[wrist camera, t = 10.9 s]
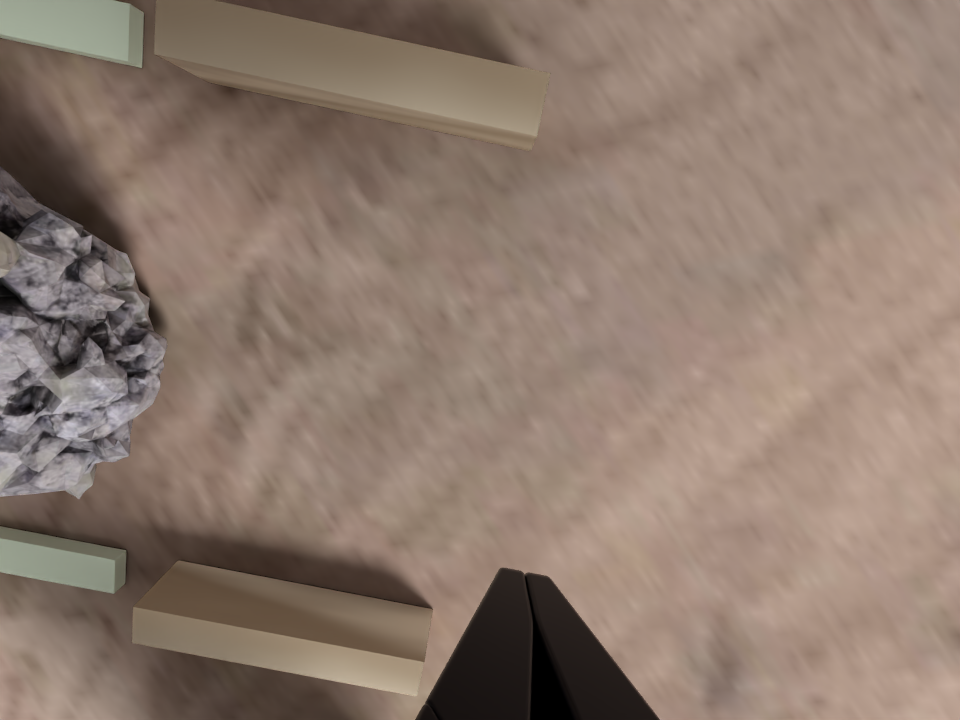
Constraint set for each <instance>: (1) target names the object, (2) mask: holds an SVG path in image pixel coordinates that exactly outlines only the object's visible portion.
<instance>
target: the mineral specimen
mask: <svg viewBox="0 0 960 720" xmlns="http://www.w3.org/2000/svg"><path fill="white" fill-rule="evenodd" d="M149 301H150V298H148V297H147V296H146V295H144V294H143V293H141V292H140V291H139V289H138V285H137V282H136V279H135V272H134V270H133V267H132V265H131V263H130V260H129V258H128V255H127V254H126V253H123V252H121V251H118V250H116V249H114V248H113V247H111V246H110V245H108V244H106V243H105V242H103V241H102V240H100V239H99V238H97V237H95V236H94V235H92V234H90V233H89V232H87V231H86V230H84V229H83V226H82V225H80V224H78V223H76V222H74V221H72V220H70V219H68V218H67V217H65V216H63V215H61V214H59V213H57V212H55V211H53V210H51V209H49V208H47V207H45V206H43V205H42V204H40V203H38V202H37V201H36V200H35V199H34V198H33V197H32V196H31V195H30V194H29V193H28V192H27V191H26V189H25V188H24V187H23V186H22V185H21V184H20V183H19V182H17V181H16V180H15V179H14V178H13V177H12V176H11V175H10V174H8V173H7V172H6V171H5V170H4V169H3V168H2V167H1V166H0V496H15V495H27V494H38V493H46V492H54V491H62V490H65V491H66V492H68V493H70V494H71V495H73V496H75V497H77V498H78V499H80V497H81V496H82V494H83V493H84V492H85V491H86V490H87V489H88V488H90V487H91V486H92V485H93V482H94V477H95V471H96V463H99V462H103V461H106V462H116V461H118V460H120V459H122V458H124V457H128V456H129V454H130V443H131V442H130V434H131V428H132V421H133V419H134V418H135V417H136V416H138V415H139V414H140V413H142V412H143V411H144V410H146V409H147V408H148V407H149V406H151V405H152V404H153V402H154V400H155V398H156V396H157V394H158V391H159V389H160V374H161V372H162V370H163V368H164V364H163V357H164V354H165V351H166V349H167V341H166V338H164V337H163V336H161V335H159V334H157V333H156V332H155V331H154V329H153V326H152V324H151V321H150V318H149V316H148V310H149Z"/></svg>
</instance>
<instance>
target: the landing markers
mask: <svg viewBox="0 0 960 720" xmlns="http://www.w3.org/2000/svg"><path fill="white" fill-rule="evenodd" d="M143 26H144V12H142V11H140V10H139V9H137V8H136V7H134V6H133V5H131V4H129V3H124V2H119V1H115V0H0V38H4V39H8V40H13V41H18V42H22V43H27V44H32V45H36V46H41V47H46V48H50V49H55V50H60V51H64V52H69V53H74V54H78V55H83V56H88V57H92V58H97V59H102V60H106V61H111V62H116V63H120V64H125V65H130V66H134V67H139V68H142V57H143ZM0 572H2V573H7V574H12V575H18V576H23V577H28V578H33V579H39V580H44V581H49V582H54V583H60V584H65V585H70V586H76V587H81V588H86V589H91V590H97V591H102V592H107V593H112V594H114V593H116V592H117V591H118V590H119V589H120V588H121V587H122V586H123V585H124V584H125V577H126V550H122V549H116V548H111V547H106V546H101V545H96V544H90V543H85V542H80V541H75V540H70V539H64V538H59V537H54V536H49V535H44V534H38V533H33V532H28V531H23V530H18V529H12V528H7V527H2V526H0Z"/></svg>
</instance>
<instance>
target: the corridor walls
mask: <svg viewBox="0 0 960 720" xmlns="http://www.w3.org/2000/svg"><path fill="white" fill-rule="evenodd" d="M154 54H155V55H157V56H159V57H161V58H163V59H165V60H166V61H168V62H170V63H172V64H174V65H176V66H178V67H180V68H182V69H184V70H186V71H187V72H189V73H191V74H193V75H195V76H197V77H199V78H201V79H203V80H205V81H206V82H209V83H214V84H218V85H223V86H228V87H232V88H237V89H242V90H246V91H251V92H256V93H260V94H265V95H270V96H274V97H279V98H284V99H288V100H293V101H298V102H303V103H307V104H312V105H317V106H321V107H326V108H331V109H335V110H340V111H345V112H349V113H354V114H359V115H363V116H368V117H373V118H377V119H382V120H387V121H391V122H396V123H401V124H405V125H410V126H415V127H419V128H424V129H429V130H433V131H438V132H443V133H447V134H452V135H457V136H461V137H466V138H471V139H475V140H480V141H485V142H489V143H494V144H499V145H503V146H508V147H513V148H517V149H522V150H527V151H531V149H532V147H533V144H534V142H535V140H536V138H537V134H538V130H539V125H540V120H541V116H542V111H543V106H544V102H545V97H546V92H547V88H548V83H549V78H550V74H551V73H547V72H542V71H538V70H533V69H529V68H524V67H519V66H515V65H510V64H506V63H501V62H496V61H492V60H487V59H483V58H478V57H474V56H469V55H464V54H460V53H455V52H451V51H446V50H441V49H437V48H432V47H428V46H423V45H418V44H414V43H409V42H405V41H400V40H396V39H391V38H386V37H382V36H377V35H373V34H368V33H363V32H359V31H354V30H350V29H345V28H340V27H336V26H331V25H327V24H322V23H317V22H313V21H308V20H304V19H299V18H295V17H290V16H285V15H281V14H276V13H272V12H267V11H262V10H258V9H253V8H249V7H244V6H239V5H235V4H230V3H226V2H221V1H216V0H156V11H155V37H154ZM432 612H433V609H429V608H423V607H418V606H413V605H408V604H403V603H397V602H392V601H387V600H382V599H377V598H371V597H366V596H361V595H356V594H351V593H345V592H340V591H335V590H330V589H325V588H319V587H314V586H309V585H304V584H299V583H293V582H288V581H283V580H278V579H273V578H267V577H262V576H257V575H252V574H247V573H241V572H236V571H231V570H226V569H221V568H215V567H210V566H205V565H200V564H195V563H189V562H184V561H179V560H178V561H177V562H176V563H175V564H174V565H173V566H172V567H171V568H170V569H169V570H168V571H167V572H166V573H165V574H164V575H163V576H162V577H161V579H160V580H159V581H158V582H157V583H156V584H155V585H154V586H153V587H152V588H151V589H150V590H149V591H148V592H147V593H146V594H145V595H144V596H143V597H142V598H141V599H140V600H139V601H138V602H137V603H136V604H135V605H134V606H133V622H132V643H134V644H139V645H145V646H150V647H155V648H161V649H166V650H171V651H177V652H182V653H187V654H193V655H198V656H203V657H209V658H214V659H219V660H225V661H230V662H235V663H240V664H246V665H251V666H256V667H262V668H267V669H272V670H278V671H283V672H288V673H294V674H299V675H304V676H310V677H315V678H320V679H326V680H331V681H336V682H342V683H347V684H352V685H357V686H363V687H368V688H373V689H379V690H384V691H389V692H395V693H400V694H405V695H411V696H416V697H417V694H418V689H419V684H420V680H421V675H422V670H423V666H424V661H425V654H426V648H427V642H428V636H429V630H430V624H431V618H432Z"/></svg>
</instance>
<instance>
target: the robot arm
mask: <svg viewBox="0 0 960 720" xmlns="http://www.w3.org/2000/svg"><path fill="white" fill-rule="evenodd" d="M415 720H660V719H659V718H658V717H657V715H656V714H655V713H654V711H653V710H652V709H651V708H650V706H649V705H648V704H647V702H646V701H645V700H644V699H643V697H642V696H641V695H640V693H639V692H638V691H637V690H636V688H635V687H634V686H633V684H632V683H631V682H630V680H629V679H628V678H627V677H626V675H625V674H624V673H623V671H622V670H621V669H620V668H619V666H618V665H617V664H616V662H615V661H614V660H613V659H612V657H611V656H610V655H609V653H608V652H607V651H606V649H605V648H604V647H603V646H602V644H601V643H600V642H599V640H598V639H597V638H596V637H595V635H594V634H593V633H592V631H591V630H590V629H589V628H588V626H587V625H586V624H585V622H584V621H583V620H582V618H581V617H580V616H579V615H578V613H577V612H576V611H575V609H574V608H573V607H572V606H571V604H570V603H569V602H568V600H567V599H566V598H565V597H564V595H563V594H562V593H561V591H560V590H559V589H558V587H557V586H556V585H555V584H554V582H553V581H552V580H551V579H550V578H549V577H548V576H544V575H539V574H534V573H526V574H525V575H524V573H523V572H522V571H519V570H514V569H508V568H500V569H499V571H498V572H497V574H496V576H495V578H494V580H493V581H492V583H491V585H490V587H489V589H488V590H487V592H486V594H485V596H484V598H483V599H482V601H481V603H480V605H479V607H478V609H477V610H476V612H475V614H474V616H473V618H472V619H471V621H470V623H469V625H468V627H467V628H466V630H465V632H464V634H463V636H462V637H461V639H460V641H459V643H458V645H457V646H456V648H455V650H454V652H453V654H452V655H451V657H450V659H449V661H448V663H447V664H446V666H445V668H444V670H443V672H442V673H441V675H440V677H439V679H438V681H437V682H436V684H435V686H434V688H433V690H432V691H431V693H430V695H429V697H428V699H427V700H426V702H425V705H424V706H423V707H422V709H421V710H420V712H419V714H418V716H417V718H416V719H415Z"/></svg>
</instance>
